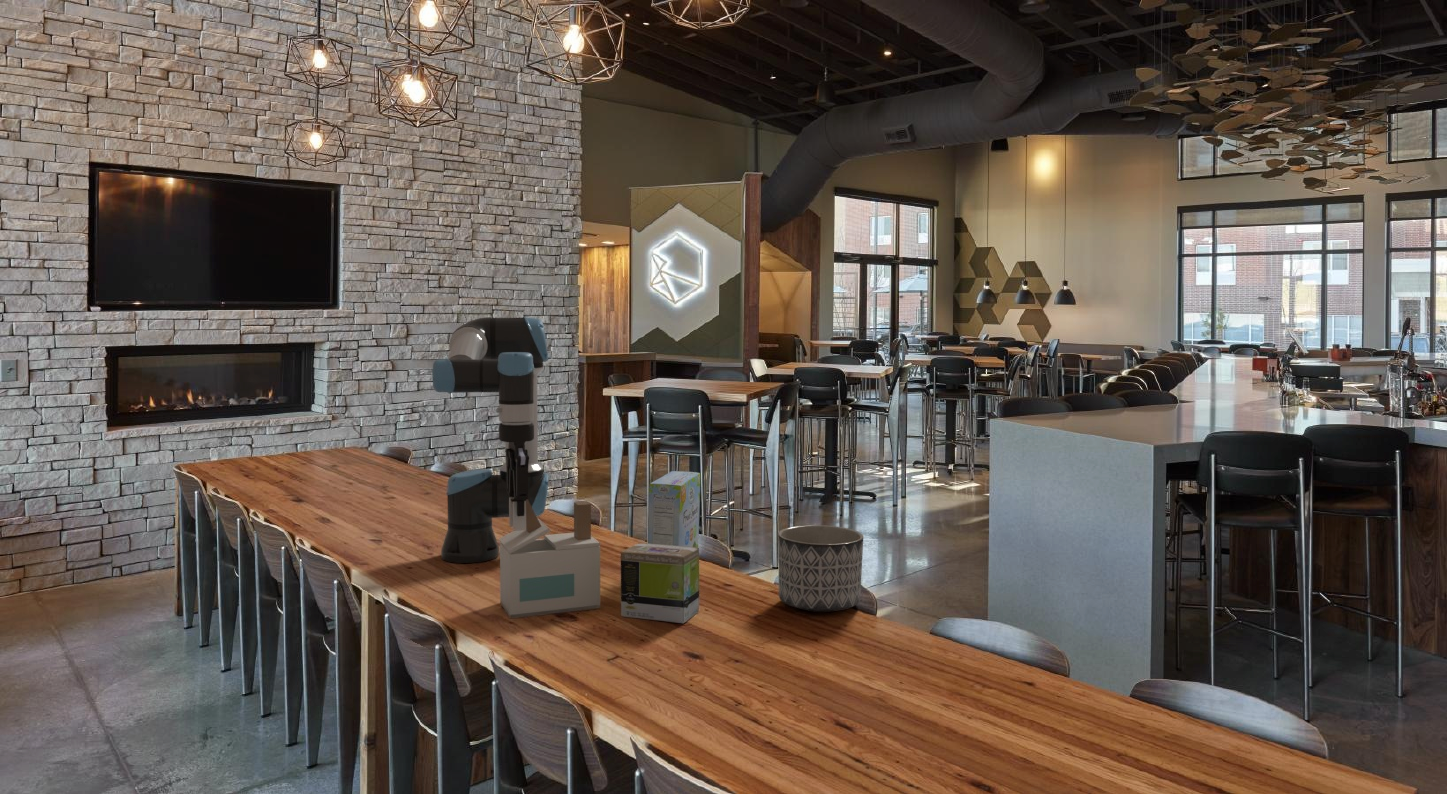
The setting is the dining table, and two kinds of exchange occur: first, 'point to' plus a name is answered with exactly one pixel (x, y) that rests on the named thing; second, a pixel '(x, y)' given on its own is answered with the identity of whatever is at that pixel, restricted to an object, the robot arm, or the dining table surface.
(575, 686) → the dining table surface
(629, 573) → the tea box
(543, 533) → the flap near
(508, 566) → the carton
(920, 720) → the dining table surface
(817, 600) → the planter
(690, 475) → the snack box
